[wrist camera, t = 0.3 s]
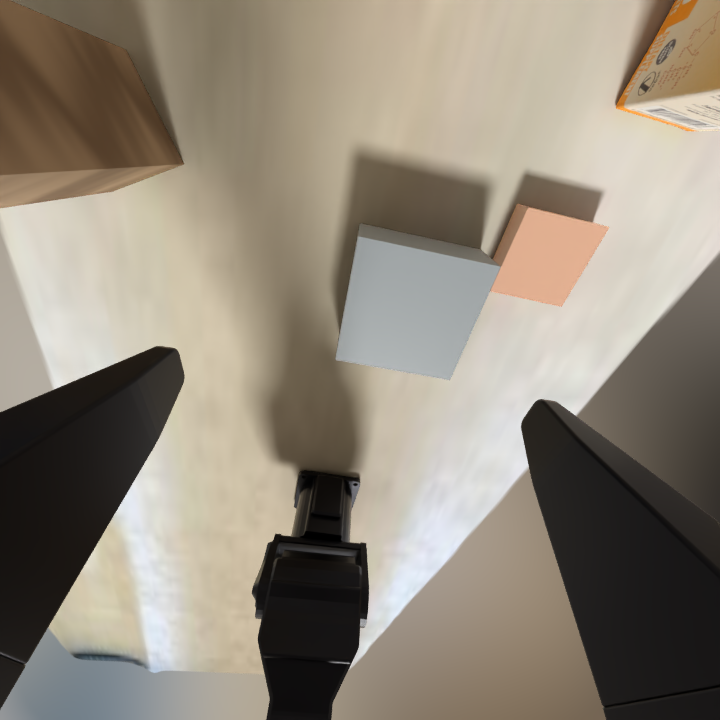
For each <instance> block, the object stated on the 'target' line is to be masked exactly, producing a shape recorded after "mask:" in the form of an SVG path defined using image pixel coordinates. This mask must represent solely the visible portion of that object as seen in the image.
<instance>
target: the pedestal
mask: <svg viewBox="0 0 720 720" xmlns="http://www.w3.org/2000/svg"><path fill="white" fill-rule="evenodd" d="M500 267H501V266H499V265H498V264H497V263H496V262H495V261H494V260H492V259H491V258H490V257H489V256H488V255H487V254H485V253H484V252H483V251H482V250H481V249H477V248H472V247H468V246H463V245H458V244H454V243H449V242H445V241H440V240H435V239H431V238H426V237H422V236H417V235H412V234H408V233H403V232H399V231H394V230H389V229H385V228H380V227H376V226H371V225H367V224H362V223H360V225H359V230H358V236H357V241H356V247H355V252H354V257H353V263H352V268H351V274H350V279H349V284H348V290H347V295H346V301H345V306H344V312H343V317H342V322H341V328H340V333H339V340H338V346H337V352H336V358H335V360H338V361H344V362H350V363H355V364H361V365H367V366H372V367H378V368H384V369H389V370H395V371H401V372H406V373H412V374H418V375H423V376H429V377H435V378H440V379H446V380H450V379H451V377H452V374H453V372H454V370H455V368H456V365H457V363H458V361H459V359H460V357H461V354H462V352H463V350H464V348H465V345H466V343H467V341H468V339H469V336H470V334H471V332H472V330H473V328H474V325H475V323H476V321H477V319H478V316H479V314H480V312H481V310H482V307H483V305H484V303H485V301H486V299H487V296H488V294H489V292H490V290H491V287H492V285H493V283H494V281H495V279H496V276H497V274H498V272H499V270H500Z"/></svg>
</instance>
